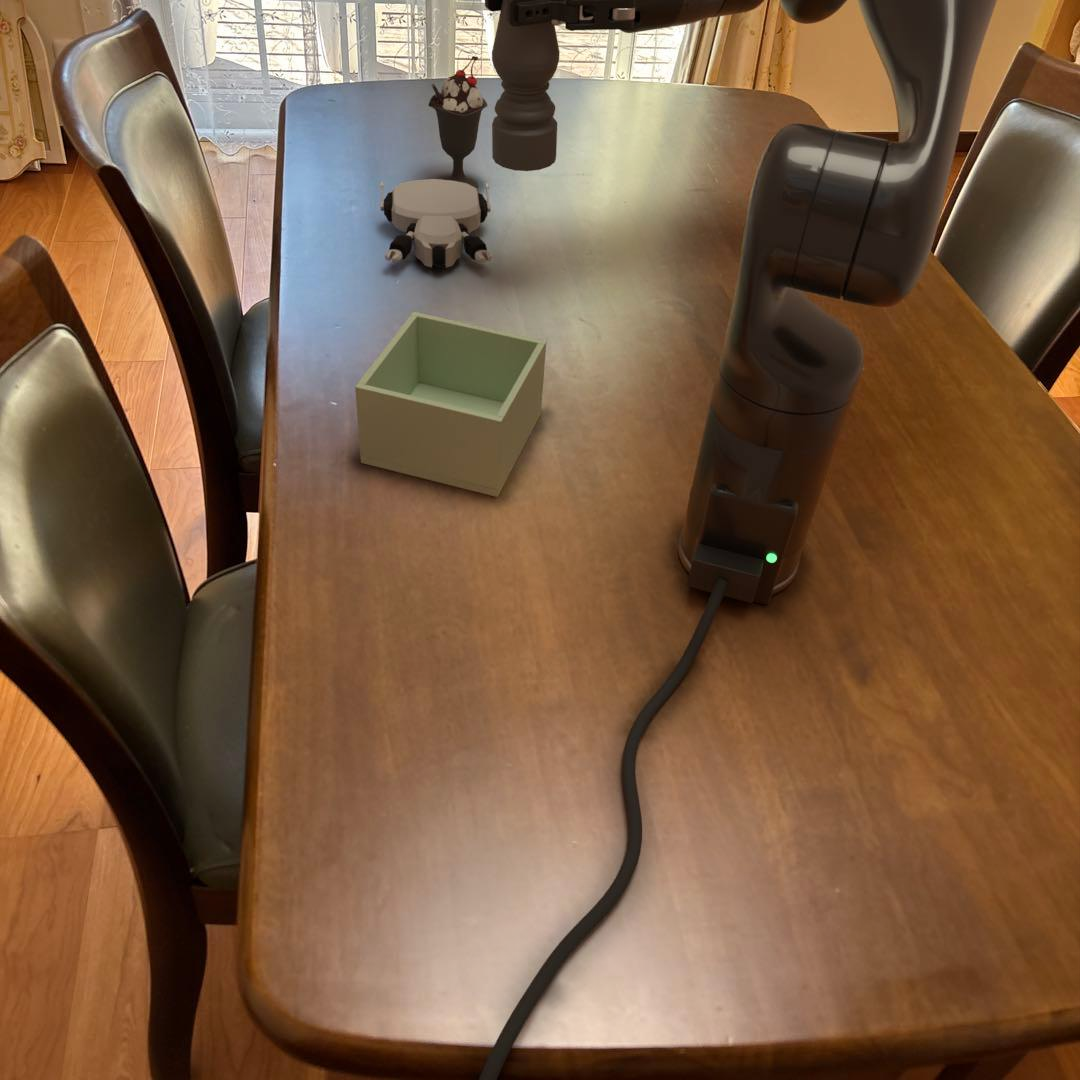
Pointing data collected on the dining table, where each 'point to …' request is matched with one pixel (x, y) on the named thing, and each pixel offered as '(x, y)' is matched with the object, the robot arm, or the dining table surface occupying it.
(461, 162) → the sundae
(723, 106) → the dining table surface
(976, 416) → the dining table surface
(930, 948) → the dining table surface
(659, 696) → the robot arm
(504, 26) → the candle holder
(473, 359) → the bin
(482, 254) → the robot toy
